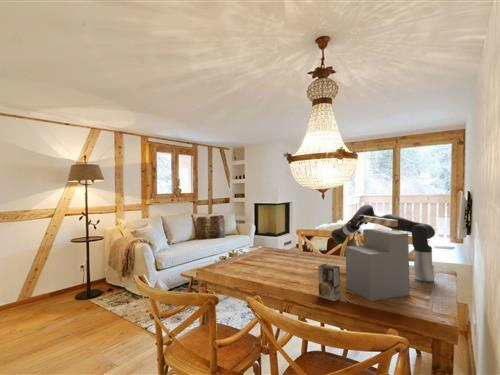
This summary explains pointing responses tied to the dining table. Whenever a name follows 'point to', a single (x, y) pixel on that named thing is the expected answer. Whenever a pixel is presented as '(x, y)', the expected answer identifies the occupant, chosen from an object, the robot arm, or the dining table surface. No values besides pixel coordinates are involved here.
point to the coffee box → (329, 282)
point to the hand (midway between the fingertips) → (365, 216)
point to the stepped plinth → (379, 265)
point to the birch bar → (380, 221)
